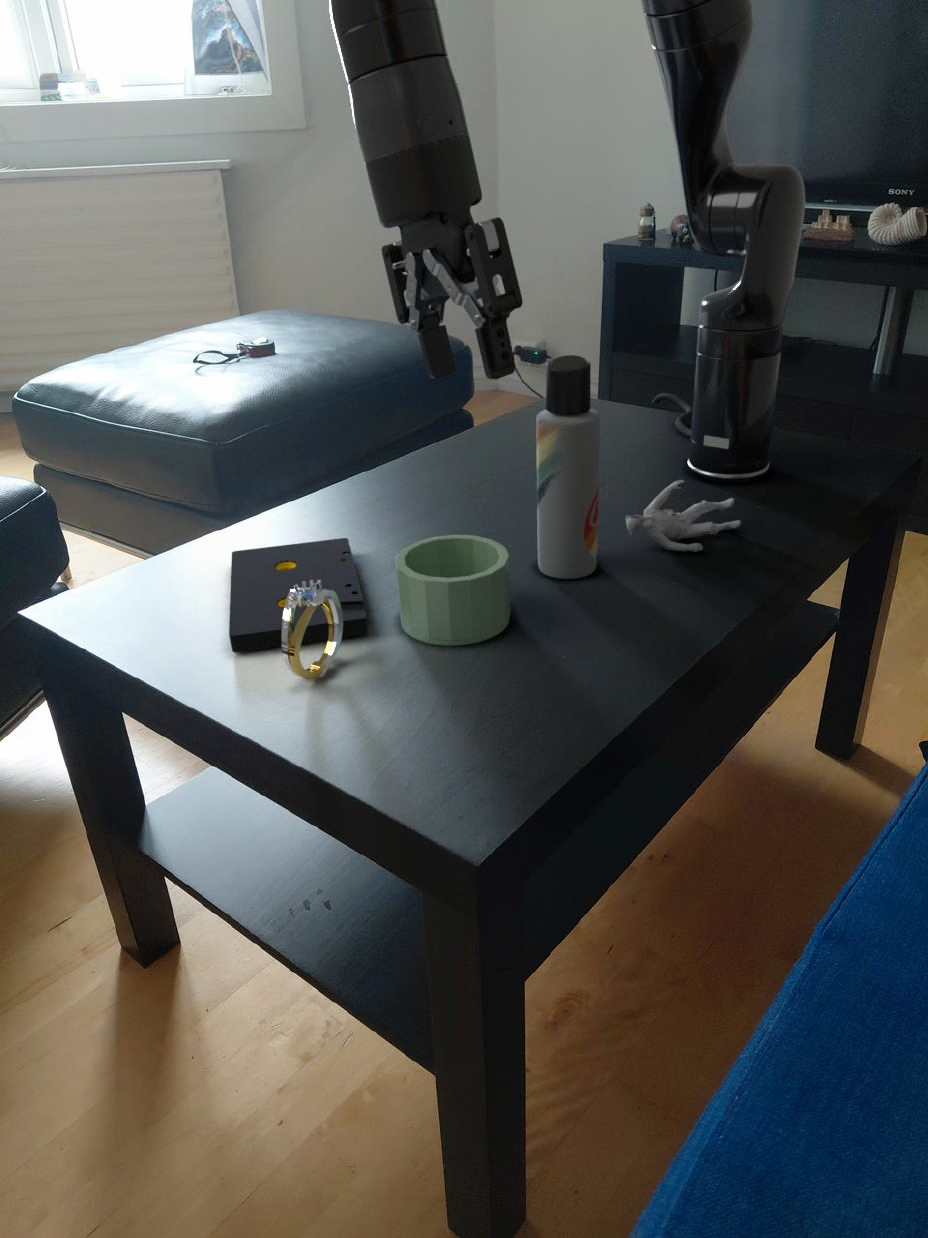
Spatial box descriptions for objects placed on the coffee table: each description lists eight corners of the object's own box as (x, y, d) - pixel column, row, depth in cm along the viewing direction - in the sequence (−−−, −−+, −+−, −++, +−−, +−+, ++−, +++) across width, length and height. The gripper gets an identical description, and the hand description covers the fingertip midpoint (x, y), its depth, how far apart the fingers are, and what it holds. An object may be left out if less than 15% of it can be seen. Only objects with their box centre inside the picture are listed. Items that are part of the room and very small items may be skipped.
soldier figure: (750, 550, 95) (664, 543, 89) (716, 570, 99) (631, 563, 92) (730, 482, 98) (645, 469, 91) (697, 503, 101) (613, 492, 95)
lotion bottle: (602, 558, 93) (607, 352, 83) (589, 583, 88) (593, 367, 79) (546, 553, 95) (545, 350, 85) (531, 577, 90) (527, 365, 80)
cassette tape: (369, 637, 81) (366, 614, 80) (232, 655, 79) (228, 633, 78) (349, 554, 97) (347, 534, 96) (234, 568, 95) (231, 548, 94)
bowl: (397, 600, 87) (391, 540, 84) (499, 589, 88) (497, 529, 85) (406, 651, 78) (400, 586, 76) (519, 639, 79) (518, 574, 77)
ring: (328, 650, 79) (317, 564, 75) (360, 658, 78) (350, 571, 74) (276, 691, 74) (260, 600, 70) (308, 701, 72) (295, 608, 69)
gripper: (516, 111, 61) (566, 361, 67) (412, 152, 73) (463, 362, 79) (418, 133, 58) (480, 393, 64) (327, 172, 70) (386, 389, 76)
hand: (470, 375), depth 72 cm, fingers open, 8 cm apart
